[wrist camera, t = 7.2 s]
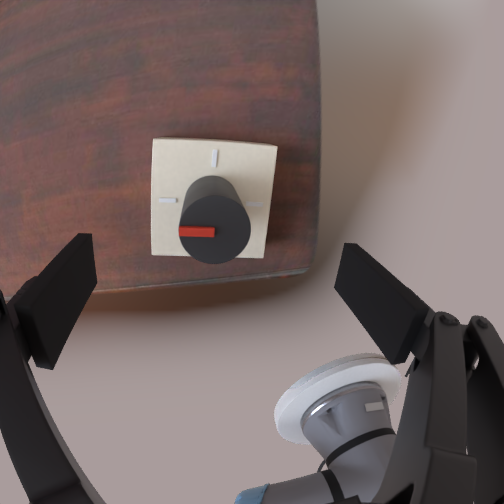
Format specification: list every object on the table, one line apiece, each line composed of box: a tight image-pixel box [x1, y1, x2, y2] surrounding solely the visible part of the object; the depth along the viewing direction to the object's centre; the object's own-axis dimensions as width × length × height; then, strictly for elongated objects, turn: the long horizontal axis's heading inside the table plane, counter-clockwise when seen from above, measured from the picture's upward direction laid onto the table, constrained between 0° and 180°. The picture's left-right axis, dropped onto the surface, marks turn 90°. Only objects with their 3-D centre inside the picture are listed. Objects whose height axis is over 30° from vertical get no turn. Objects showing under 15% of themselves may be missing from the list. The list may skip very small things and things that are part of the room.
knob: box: [178, 175, 251, 264], centre depth 21 cm, size 4×4×7 cm
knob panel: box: [151, 137, 277, 258], centre depth 25 cm, size 10×10×3 cm
